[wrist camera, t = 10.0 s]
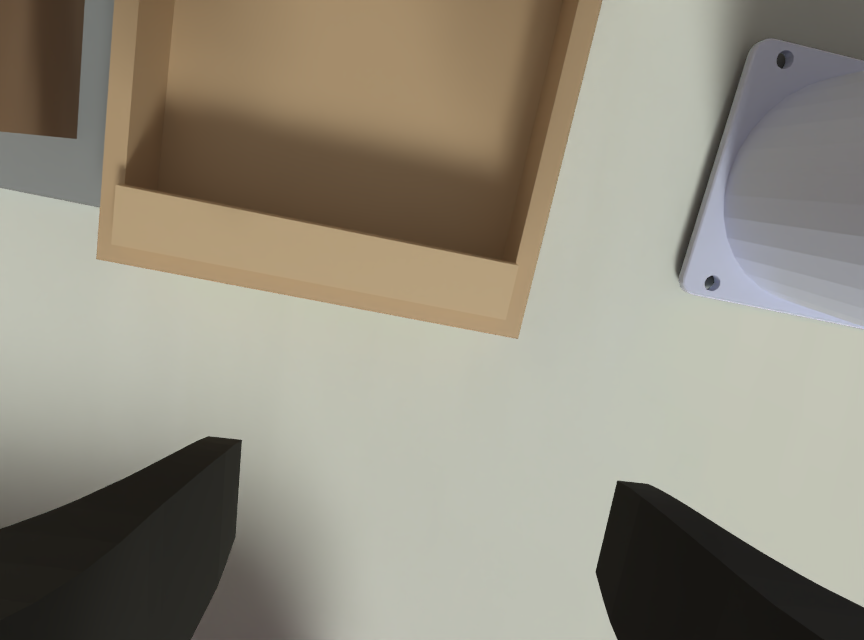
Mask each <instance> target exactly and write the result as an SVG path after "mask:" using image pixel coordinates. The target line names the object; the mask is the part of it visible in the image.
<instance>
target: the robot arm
mask: <svg viewBox="0 0 864 640" xmlns="http://www.w3.org/2000/svg"><path fill="white" fill-rule="evenodd" d="M779 53H781V54H783V55H784V57H785V59H786V60H785V65H784V67H783V68H782V69H781V68H780V67H778V65H777V63H776V62H777V56H778V55H779ZM712 275H713V277H714V283H713V285H712V286H711V287H710V288H708V289H706V287H705V281H706V279H707V278H708V277H709V276H712ZM679 284H680V287H681V288H682V289H683V290H684V291H686V292H688V293H690V294H693V295H697V296H702V297H707V298H712V299H717V300H722V301H727V302H732V303H737V304H742V305H747V306H752V307H757V308H762V309H767V310H772V311H777V312H782V313H787V314H792V315H796V316H801V317H806V318H811V319H816V320H821V321H826V322H831V323H836V324H841V325H846V326H851V327H856V328H861V329H864V60H860V59H856V58H852V57H848V56H843V55H839V54H835V53H831V52H827V51H823V50H819V49H815V48H811V47H807V46H803V45H799V44H795V43H791V42H786V41H782V40H778V39H773V38H768V39H765V40H762V41H760V42H758V43H756V44H755V45H754V46H753V47H752V48H751V49H750V51H749V53H748V55H747V58H746V62H745V65H744V68H743V71H742V75H741V78H740V81H739V84H738V88H737V91H736V94H735V97H734V100H733V104H732V107H731V110H730V113H729V117H728V120H727V123H726V126H725V130H724V133H723V136H722V139H721V142H720V146H719V149H718V152H717V155H716V159H715V162H714V165H713V168H712V172H711V175H710V178H709V181H708V184H707V188H706V191H705V194H704V197H703V201H702V204H701V207H700V210H699V213H698V217H697V220H696V223H695V226H694V230H693V233H692V236H691V239H690V243H689V246H688V249H687V252H686V255H685V259H684V262H683V265H682V268H681V272H680V275H679ZM241 443H242V440H237V439H228V438H219V437H210V436H208V437H206V438H203V439H201V440H199V441H196V442H194V443H192V444H190V445H188V446H186V447H184V448H183V449H181V450H179V451H177V452H175V453H173V454H171V455H169V456H167V457H165V458H163V459H162V460H160V461H158V462H156V463H154V464H152V465H150V466H148V467H146V468H144V469H142V470H140V471H138V472H136V473H134V474H132V475H130V476H128V477H126V478H124V479H122V480H120V481H118V482H115V483H113V484H111V485H109V486H107V487H105V488H102V489H100V490H98V491H96V492H94V493H92V494H89V495H87V496H85V497H83V498H81V499H79V500H76V501H74V502H71V503H69V504H67V505H64V506H62V507H59V508H57V509H54V510H52V511H49V512H47V513H44V514H41V515H38V516H36V517H33V518H30V519H27V520H25V521H22V522H19V523H16V524H14V525H11V526H8V527H5V528H2V529H0V640H191V638H192V636H193V634H194V632H195V630H196V628H197V626H198V624H199V622H200V620H201V618H202V616H203V614H204V612H205V610H206V608H207V606H208V604H209V602H210V600H211V598H212V596H213V594H214V592H215V590H216V588H217V586H218V584H219V581H220V578H221V576H222V573H223V570H224V568H225V565H226V562H227V559H228V556H229V553H230V551H231V548H232V545H233V542H234V539H235V533H236V518H237V503H238V488H239V473H240V458H241ZM596 575H597V578H598V582H599V586H600V590H601V593H602V597H603V601H604V604H605V607H606V610H607V614H608V617H609V620H610V623H611V625H612V628H613V630H614V632H615V635H616V637H617V639H618V640H864V607H862V606H860V605H858V604H856V603H854V602H852V601H850V600H848V599H846V598H844V597H842V596H840V595H838V594H836V593H834V592H832V591H830V590H828V589H826V588H824V587H822V586H820V585H818V584H816V583H814V582H813V581H811V580H809V579H807V578H805V577H803V576H802V575H800V574H798V573H796V572H795V571H793V570H791V569H789V568H788V567H786V566H784V565H783V564H781V563H779V562H777V561H776V560H774V559H772V558H770V557H769V556H767V555H765V554H764V553H762V552H760V551H759V550H757V549H755V548H754V547H752V546H750V545H749V544H747V543H746V542H744V541H742V540H741V539H739V538H738V537H736V536H734V535H733V534H731V533H730V532H728V531H726V530H725V529H723V528H722V527H720V526H718V525H717V524H715V523H714V522H712V521H711V520H709V519H707V518H706V517H704V516H703V515H701V514H700V513H698V512H696V511H695V510H693V509H692V508H690V507H688V506H687V505H685V504H684V503H682V502H680V501H679V500H677V499H675V498H674V497H672V496H670V495H669V494H667V493H665V492H663V491H661V490H659V489H658V488H655V487H653V486H651V485H649V484H643V483H634V482H625V481H617V485H616V489H615V493H614V497H613V501H612V505H611V510H610V514H609V518H608V522H607V526H606V531H605V535H604V539H603V543H602V547H601V551H600V556H599V560H598V564H597V568H596Z"/></svg>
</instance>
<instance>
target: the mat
mask: <svg viewBox="0 0 864 640" xmlns="http://www.w3.org/2000/svg"><path fill="white" fill-rule="evenodd" d="M113 12H114V0H85V6H84V24H83V41H82V58H81V76H80V93H79V110H78V128H77V139H71V138H61V137H51V136H41V135H31V134H20V133H10V132H0V188H4V189H9V190H14V191H19V192H24V193H29V194H34V195H39V196H45V197H50V198H55V199H60V200H65V201H70V202H75V203H80V204H85V205H90V206H95V207H100V200H101V185H102V171H103V156H104V142H105V127H106V113H107V99H108V84H109V70H110V55H111V41H112V26H113Z"/></svg>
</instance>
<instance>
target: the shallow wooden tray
mask: <svg viewBox="0 0 864 640" xmlns="http://www.w3.org/2000/svg"><path fill="white" fill-rule="evenodd" d="M601 4H602V0H114V12H113V26H112V41H111V55H110V70H109V84H108V99H107V113H106V127H105V142H104V156H103V171H102V185H101V200H100V214H99V229H98V243H97V257H96V259H99V260H104V261H109V262H115V263H120V264H125V265H131V266H136V267H141V268H146V269H152V270H157V271H162V272H168V273H173V274H178V275H183V276H189V277H194V278H199V279H204V280H210V281H215V282H220V283H226V284H231V285H236V286H241V287H247V288H252V289H257V290H263V291H268V292H273V293H278V294H284V295H289V296H294V297H299V298H305V299H310V300H315V301H321V302H326V303H331V304H336V305H342V306H347V307H352V308H358V309H363V310H368V311H373V312H379V313H384V314H389V315H394V316H400V317H405V318H410V319H416V320H421V321H426V322H431V323H437V324H442V325H447V326H453V327H458V328H463V329H468V330H474V331H479V332H484V333H489V334H495V335H500V336H505V337H511V338H516V339H518V336H519V332H520V328H521V324H522V320H523V316H524V312H525V308H526V304H527V300H528V296H529V292H530V288H531V284H532V280H533V276H534V272H535V268H536V264H537V260H538V256H539V252H540V248H541V244H542V240H543V236H544V232H545V228H546V224H547V220H548V216H549V212H550V208H551V204H552V200H553V196H554V192H555V188H556V184H557V180H558V176H559V172H560V168H561V164H562V160H563V156H564V152H565V148H566V144H567V140H568V136H569V132H570V128H571V124H572V120H573V116H574V112H575V108H576V104H577V100H578V96H579V92H580V88H581V84H582V80H583V76H584V72H585V68H586V64H587V60H588V56H589V52H590V48H591V44H592V40H593V36H594V32H595V28H596V24H597V20H598V16H599V12H600V8H601Z"/></svg>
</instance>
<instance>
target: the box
mask: <svg viewBox="0 0 864 640" xmlns="http://www.w3.org/2000/svg"><path fill="white" fill-rule="evenodd" d="M84 6H85V0H0V132H10V133H20V134H31V135H41V136H51V137H61V138H71V139H77V128H78V110H79V93H80V76H81V58H82V41H83V24H84Z"/></svg>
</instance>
